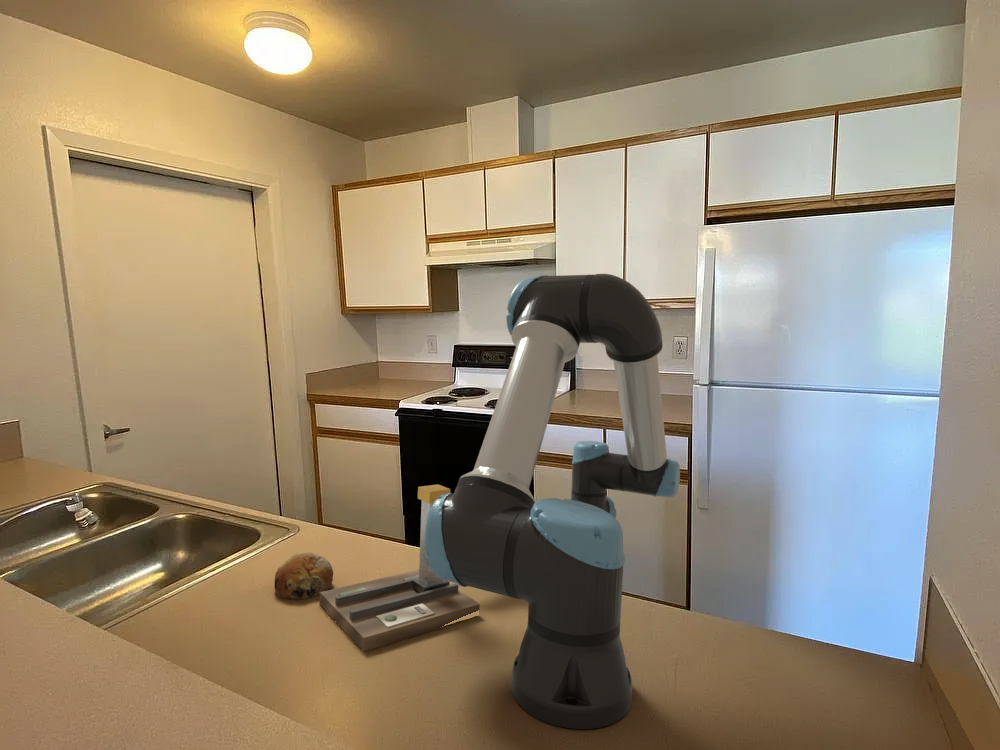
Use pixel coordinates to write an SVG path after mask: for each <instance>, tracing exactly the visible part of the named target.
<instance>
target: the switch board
mask: <svg viewBox="0 0 1000 750" xmlns="http://www.w3.org/2000/svg"><path fill="white" fill-rule="evenodd" d="M418 578H419V569H416V570H412V571H408V572H404V573H399V574H395V575H389V576H385V577H382V578H377V579H372V580H368V581H364V582H363V581H362V582H359V583H355V584H350V585H346V586H342V587H338V588H332V589H328V590H327V591H323V592H320V594H319V605H320V606H321V607H322V609H323V610H324V611H325V612H326V613H327V614H328V615H329V616H330V618H332V619H333V621H335V622H336V624H337V625H338V626H339V627H340V628H341V629H342V631H343V632H345V634H347V636H348V637H349V638H350V639H351V640H352V641H353V642H354V644H356V645H357V646H358V648H359V649H360V650H361V651H362V652H363V653H364V652H367V651H370V650H374V649H377V648H380V647H384V646H387V645H389V644H390V645H391V644H393V643H397V642H400V641H404V640H406V639H410V638H413V637H416V636H419V635H422V634H423V635H424V634H426V633H430V632H433V631H435V630H438V629H437V628H439V629H441V628H440V627H442V626H444V625H445V624H448V623H450V622H452V621H454V620H457V619H459V618H461V617H463V616H466V615H468V614H471V613H473V612H476V611H478V610H480V609H481V608H480V606H481V604H480V603H479V602H477V600H475V599H473V598H472V597H470V596H469V595H467V594H465V593H464V592H463V591H460V590H459V585H458V584H457V583H453V584H450V583H449V585H448V586H445V587H441V588H437V589H433V590H429V591H425V592H421V593H420V592H419V591H417V590H416V589H415V588H413V587H412V580H414V579H418ZM442 628H443V627H442Z"/></svg>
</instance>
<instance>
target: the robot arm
mask: <svg viewBox="0 0 1000 750" xmlns="http://www.w3.org/2000/svg"><path fill="white" fill-rule="evenodd" d="M506 310H507V311H508V312H507V314H506V315H505V316H506V317H505V318H506V327H507V330H508V332H509V335H510V336H511V341H512V343H513V344H514V346H515V349H514V352H513V356H512V358H511V361H510V364H509V367H508V369H507V372H506V375H505V379H504V381H503V385H502V387H501V390H500V392H499V395H498V398H497V402H496V404H495V408H494V409H493V413H492V415H491V419H490V420H489V424H488V427H487V430H486V433H485V435H484V438H483V442H482V445H481V447H480V449H479V453H478V456H477V459H476V462H475V464H474V468H473V470H472V471H469V472H467V473H465V474H463V475H461V476H460V477H459V480H458V482H457V484H456V486H455V490H454V493H452V492H450V493H448V494H444V495H441V496H440V497H439V498H438V499H436V500H435V501H434V503H433V504H432V506H431V508H430V510H429V513H428V516H427V520H426V525H425V535H424V542H425V549H426V557H427V560H428V563H429V565H430V567H431V569H432V570H433V572H434V573H435V574H436V575H437V576H439V577H440V578H442V579H445V580H448V581H449V582H452V583H453V584H457V585H458V586H460V587H463V588H467V587H470V588H473V589H479V590H481V591H484V592H485V591H486V592H490V593H492V594H498V595H500V596H505V597H509V598H512V599H517V600H521V601H524V602H527V603H528V606H527V608H528V611H527V626H526V629H525V632H524V634H523V638H522V641H521V644H520V647H519V651H518V654H517V656H516V657H515V659H514V661H513V664H512V668H511V669H512V671H511V692H512V695H513V697H514V699H515V702H517V703H518V704H519V706H520V707H521V708H522V709H523V710H524V711H526V712H527V713H529V714H530V715H531V716H533V717H535V718H537V719H538V720H541V721H542V722H544V723H548V724H551V725H554V726H557V727H562V728H566V729H567V728H568V729H573V730H574V729H576V730H590V729H597V728H598V729H599V728H603V727H606V726H607V727H608V726H609V725H613V724H614V723H617V722H618V721H620V720H621V719H623V717H625V716H626V715H627V713H628V712H629V710H630V709H631V706H632V703H633V702H632V701H633V700H632V699H633V680H632V676H631V672H630V670H629V668H628V667H627V661H626V657H625V653H624V652H625V651H624V648H623V644H622V640H621V639H622V638H621V619H622V618H621V617H622V601H623V600H622V599H623V581H624V580H623V579H624V565H625V562H626V561H625V560H626V557H625V554H624V553H625V552H624V531H623V527H622V525H621V523H620V522H619V521H618V519H617V509H616V506H615V503H614V501H613V500H612V499H611V498H610V497H609V496H608V495H607V492H608V490H613V491H621V492H627V493H633V494H640V495H644V496H645V495H646V496H652V497H661V498H662V497H663V498H674V497H675V496H676V495H677V494H678V491H679V487H680V481H681V467H680V463H679V462H678V461H677V460H674V459H670V458H668V455H667V454H668V453H667V444H666V434H665V423H664V412H663V401H662V393H661V390H662V389H661V381H660V380H661V379H660V371H659V358H658V356H659V355H660V354H661V353H662V350H663V345H664V344H663V333H662V329H661V328H662V327H661V325H660V322H659V320H658V317H657V315H656V313H655V311H654V309H653V307H652V306H651V305H650V303H649V301H648V300H647V299H646V297H645V296H644V294H643V293H641V291H640V290H639V289H638V288H636V287H635V285H633V284H631V283H630V282H629V281H627V280H626V279H623V278H622V277H619V276H617V275H614V274H610V273H596V274H575V275H573V274H571V275H569V274H567V275H545V274H544V275H543V274H542V275H539V276H534V277H527V278H524V279H523V280H521V281H520V282H518V283H517V284H516V285H515V287H514V288H513V290H512V291H511V293H510V296H509V299H508V301H507V306H506ZM581 343H582V344H583V343H584V344H592V343H593V344H598V343H600V344H602V345H604V347H605V353H606V355H607V358H608V359H610V360H611V361H613V367H614V374H615V380H616V386H617V387H616V388H617V393H618V401H619V405H620V406H619V408H620V413H621V420H622V426H623V432H624V439H625V447H626V452H627V454H620V453H614V452H613V453H612V452H610V449H609V448H610V447H609V446H608V444H607V443H605V442H603V441H602V442H601V441H597V440H596V441H595V440H594V441H593V440H583V441H578V442H576V443H575V444H574V446H573V453H572V454H573V455H572V461H571V464H572V465H571V493H570V499H568V498H564V499H561V498H557V497H550V498H549V497H548V498H547V497H546V498H541V499H538V500H537V501H536V499H535V498H534V496H533V494H532V492H531V491H530V490H531V489H530V486H531V482H532V478H533V476H534V472H535V468H536V465H537V462H538V457H539V453H540V450H541V448H542V445H543V440H544V437H545V433H546V429H547V426H548V423H549V419H550V416H551V413H552V409H553V405H554V402H555V399H556V395H557V391H558V389H559V385H560V381H561V377H562V375H563V371H564V368H565V363H567V362H569V361H571V360H573V359H574V358H575V357H576V356H577V354H578V351H579V348H580V344H581Z"/></svg>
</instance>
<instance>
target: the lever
mask: <svg viewBox="0 0 1000 750" xmlns="http://www.w3.org/2000/svg"><path fill="white" fill-rule="evenodd" d="M448 493H451V488H449V487H446V486H445V485H444V486H443V485H441V484H432V485H424V486H418V487H417V500H421V507H420V509H421V511H420V535H419V536H420V537H419V538H420V539H419V541H420V542H419V564H418V567H419V568H418V570H419V578H418V579H414V580H412V587H413V588H415V589H416V590H417V591H419V592H420V593H421V592H425V591H429V590H433V589H437V588H441V587H445V586H448V585H449V584H450V581H448V580H445V579H442V578H440V577H439V576H437V575H436V574H435V573H434V572H433V570H432V569H431V567H430V565H429V563H428V560H427V557H426V549H425V542H424V535H425V525H426V520H427V516H428V513H429V510H430V508H431V506H432V504H433V503H434V501H435V500H436V499H438V498H439V497H440V496H441V495H444V494H448Z"/></svg>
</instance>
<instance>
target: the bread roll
mask: <svg viewBox="0 0 1000 750" xmlns="http://www.w3.org/2000/svg"><path fill="white" fill-rule="evenodd" d="M333 577H334V569H333V566H332V564H331V562H329V560H328V559H327V558H326V557H324V556H322V555H319V554H318V553H315V552H314V553H313V552H302V553H301V552H300V553H299V552H298V553H294V554H293V555H291V556H290V557H288V559H286V560H285V562H283V563H282V564H281V565H280V566H279V567H277V570H276V572H275V575H274V583H273V584H274V585H273V586H274V592H275V593H276V594H277V596H278V597H280V598H283V599H288V600H305V599H310V598H312V597H313V598H314V597H316V596H317V597H318V596H320V592H323V591H326V590H329V589H330V588H331V587H332V585H333V579H334V578H333Z"/></svg>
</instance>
